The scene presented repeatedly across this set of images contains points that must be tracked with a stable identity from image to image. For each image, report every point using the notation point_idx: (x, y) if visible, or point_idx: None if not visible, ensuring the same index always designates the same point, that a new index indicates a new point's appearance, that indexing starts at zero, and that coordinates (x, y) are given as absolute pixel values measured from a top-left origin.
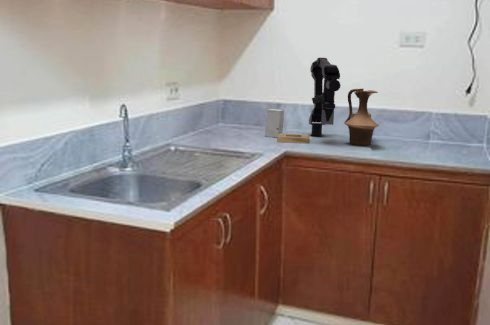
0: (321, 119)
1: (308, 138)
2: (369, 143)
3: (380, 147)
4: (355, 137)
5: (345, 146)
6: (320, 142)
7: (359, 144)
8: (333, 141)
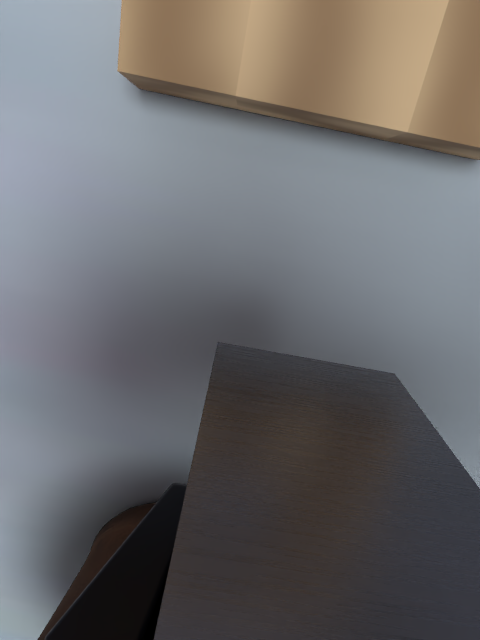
0: (371, 422)
1: (119, 64)
2: None
3: None
4: (78, 581)
5: (33, 437)
6: (235, 260)
7: (91, 548)
8: None
